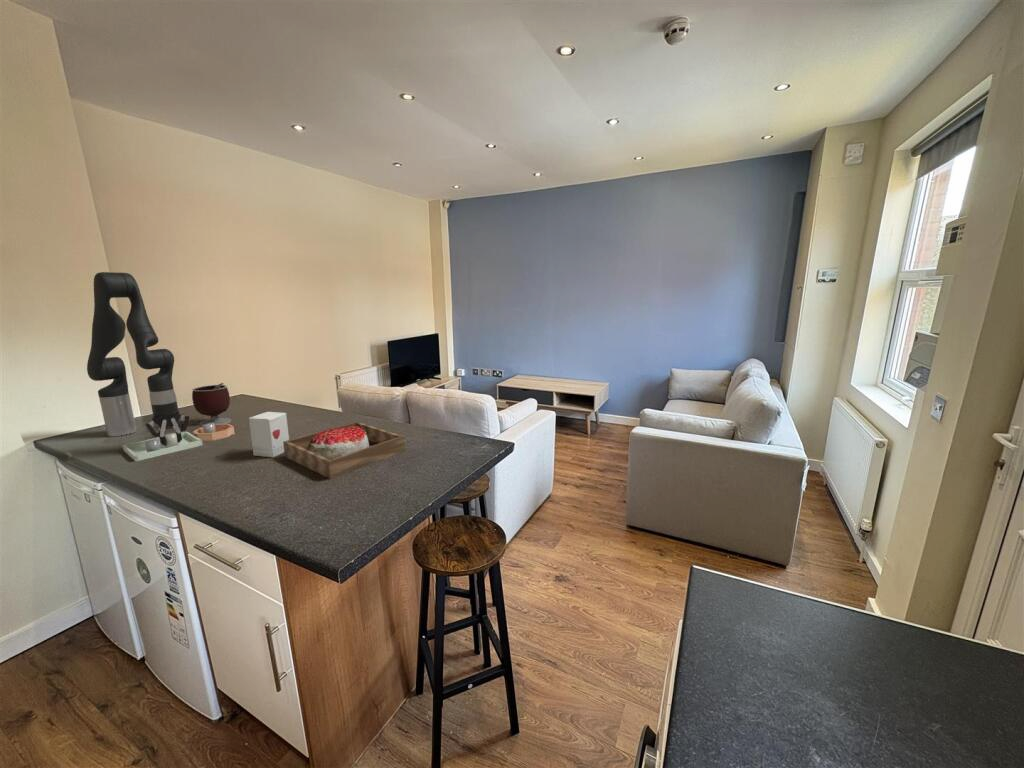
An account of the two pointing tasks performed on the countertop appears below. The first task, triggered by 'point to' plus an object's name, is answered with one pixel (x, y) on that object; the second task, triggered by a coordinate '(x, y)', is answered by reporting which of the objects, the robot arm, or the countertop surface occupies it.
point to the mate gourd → (212, 402)
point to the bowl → (219, 433)
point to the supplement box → (268, 433)
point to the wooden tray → (347, 463)
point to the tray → (140, 453)
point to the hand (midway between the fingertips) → (171, 443)
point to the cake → (338, 442)
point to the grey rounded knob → (152, 445)
